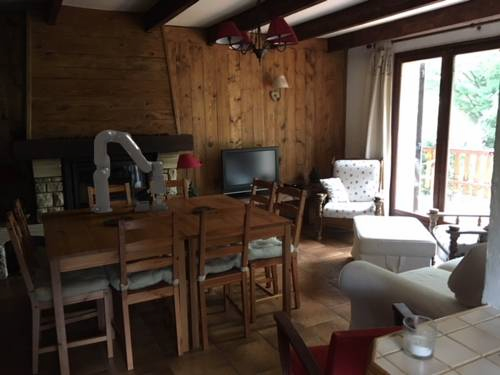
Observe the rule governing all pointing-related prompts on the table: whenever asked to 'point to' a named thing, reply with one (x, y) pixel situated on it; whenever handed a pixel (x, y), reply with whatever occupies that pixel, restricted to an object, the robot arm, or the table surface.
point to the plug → (159, 200)
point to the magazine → (143, 195)
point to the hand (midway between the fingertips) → (159, 201)
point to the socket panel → (145, 207)
